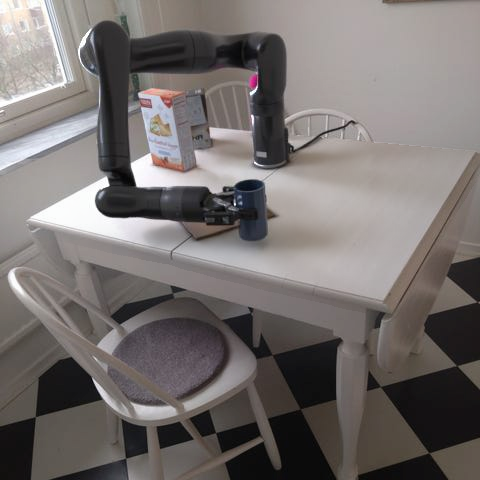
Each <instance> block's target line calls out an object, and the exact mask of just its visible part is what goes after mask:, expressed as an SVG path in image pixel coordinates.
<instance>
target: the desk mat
mask: <svg viewBox="0 0 480 480" xmlns="http://www.w3.org/2000/svg"><path fill="white" fill-rule="evenodd" d="M233 201H234V203H235V199H233ZM275 216H276V214H275V213H274V212H272V211H271V210H270V209H269V208H267V219H270V218H273V217H275ZM223 220H224V221H227V220H225V219H223ZM180 223H181V225H183V226H184V227H185V229H186V230H187V231H188V232H189V233H190V235H191V236H192V237H193V238H194V239H195V240H196V241H198V240H201V239H204V238H207V237H208V238H209V237H210V236H214V235H217V234H221V233H223V232H224V233H225V232H227V231H231V230H234V229H238V221H235V224H234V225H224V226H207V225H206V223H197V222H180Z"/></svg>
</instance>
